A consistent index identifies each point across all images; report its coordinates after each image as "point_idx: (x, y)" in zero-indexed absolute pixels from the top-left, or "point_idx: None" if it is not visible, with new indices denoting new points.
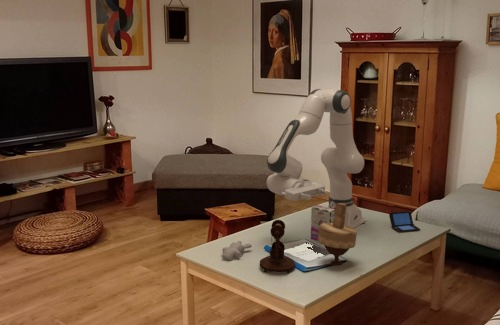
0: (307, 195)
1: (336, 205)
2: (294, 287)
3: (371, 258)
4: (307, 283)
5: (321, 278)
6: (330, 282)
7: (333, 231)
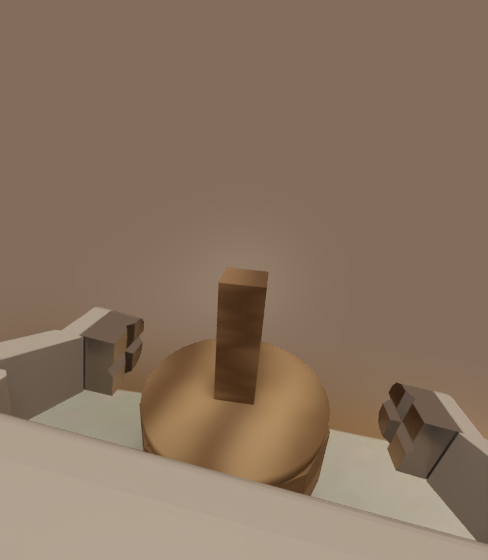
0: (470, 421)
1: (265, 295)
2: (464, 533)
3: (92, 422)
4: (406, 511)
5: (343, 491)
6: (336, 455)
7: (314, 375)
